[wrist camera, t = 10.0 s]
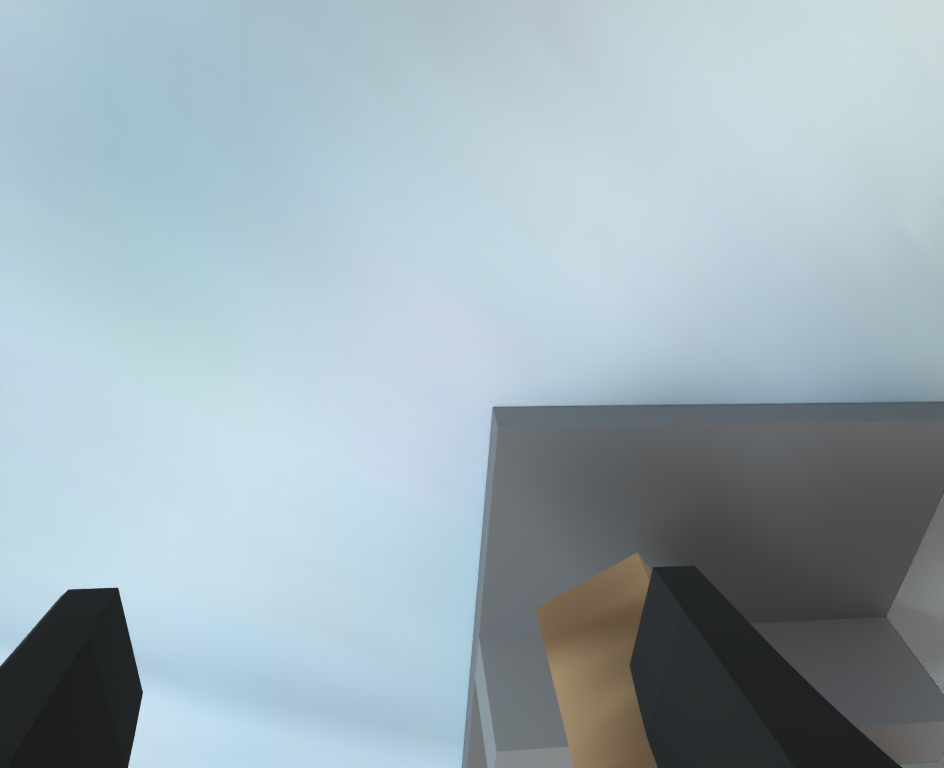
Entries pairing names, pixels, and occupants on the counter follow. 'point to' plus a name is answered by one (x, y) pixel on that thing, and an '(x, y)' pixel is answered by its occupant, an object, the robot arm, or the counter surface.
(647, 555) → the stand
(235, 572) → the counter surface
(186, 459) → the counter surface
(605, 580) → the wooden block
